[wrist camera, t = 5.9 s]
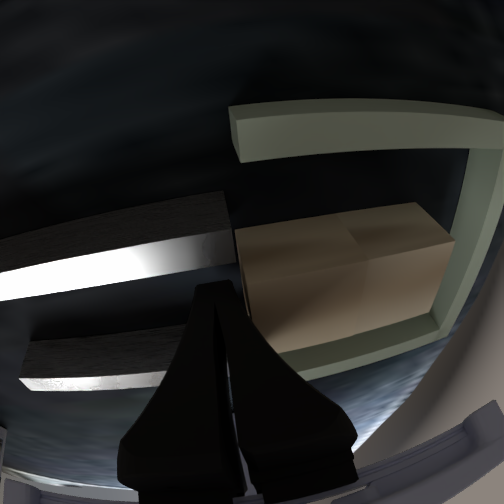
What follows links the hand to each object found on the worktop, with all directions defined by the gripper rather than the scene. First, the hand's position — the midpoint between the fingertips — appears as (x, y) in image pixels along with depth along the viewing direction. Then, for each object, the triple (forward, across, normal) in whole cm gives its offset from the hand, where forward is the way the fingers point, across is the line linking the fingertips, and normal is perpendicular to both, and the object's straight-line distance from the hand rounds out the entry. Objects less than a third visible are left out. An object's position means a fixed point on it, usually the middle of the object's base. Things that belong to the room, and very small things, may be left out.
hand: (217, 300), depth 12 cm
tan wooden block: (+2, -7, 0) cm, 7 cm away
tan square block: (+1, -3, 0) cm, 3 cm away
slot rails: (+1, +5, 0) cm, 5 cm away
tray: (+1, -7, 0) cm, 7 cm away
